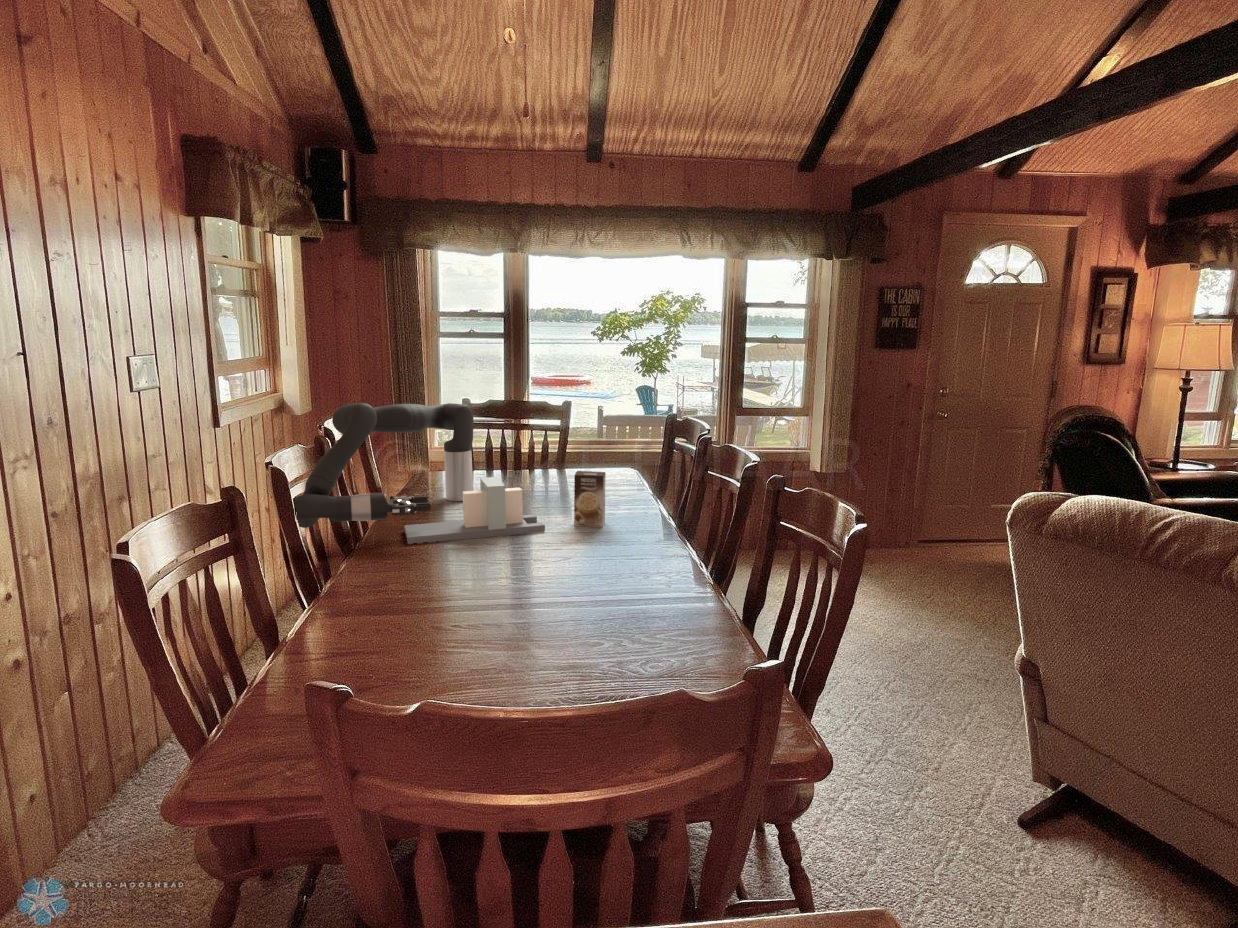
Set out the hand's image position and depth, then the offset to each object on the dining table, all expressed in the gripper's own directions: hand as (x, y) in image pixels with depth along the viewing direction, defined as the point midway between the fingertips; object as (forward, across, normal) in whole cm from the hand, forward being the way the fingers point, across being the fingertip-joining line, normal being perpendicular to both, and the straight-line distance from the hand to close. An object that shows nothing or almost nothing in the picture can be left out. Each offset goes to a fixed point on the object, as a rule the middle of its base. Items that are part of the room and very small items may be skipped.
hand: (428, 503), depth 207 cm
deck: (+13, 0, +10) cm, 16 cm away
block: (+18, 0, +8) cm, 20 cm away
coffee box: (+48, -3, +10) cm, 49 cm away
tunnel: (+18, 0, +8) cm, 20 cm away
